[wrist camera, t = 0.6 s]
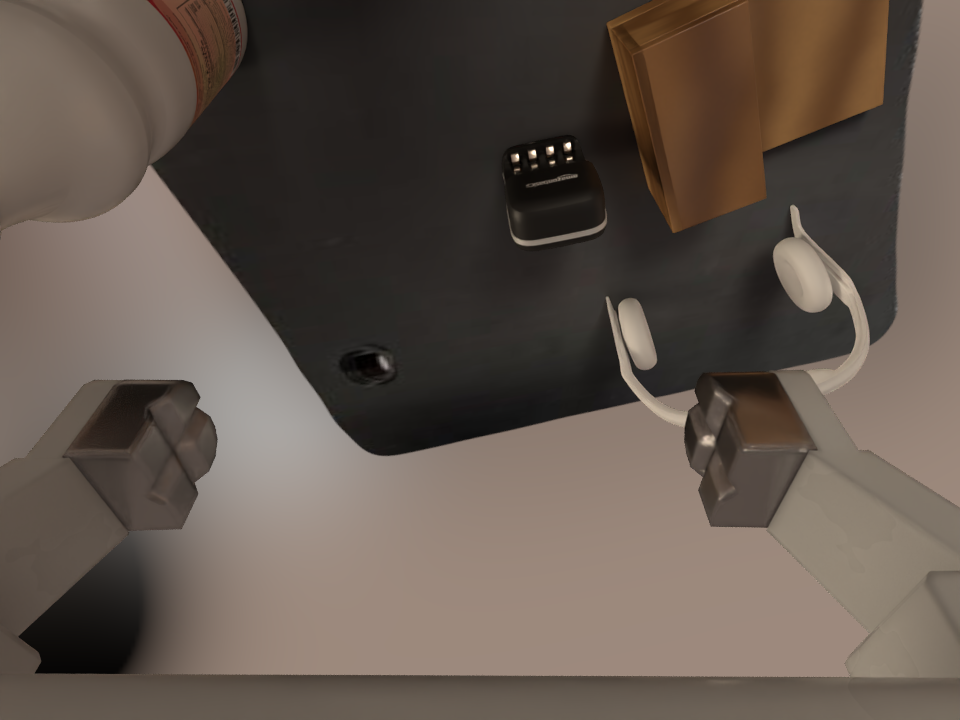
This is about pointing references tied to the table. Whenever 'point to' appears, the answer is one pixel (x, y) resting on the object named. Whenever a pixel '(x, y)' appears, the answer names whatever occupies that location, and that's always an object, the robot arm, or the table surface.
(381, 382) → the table surface
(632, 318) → the headset
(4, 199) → the fruit juice
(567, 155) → the battery charger
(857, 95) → the step shelf
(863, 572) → the robot arm
